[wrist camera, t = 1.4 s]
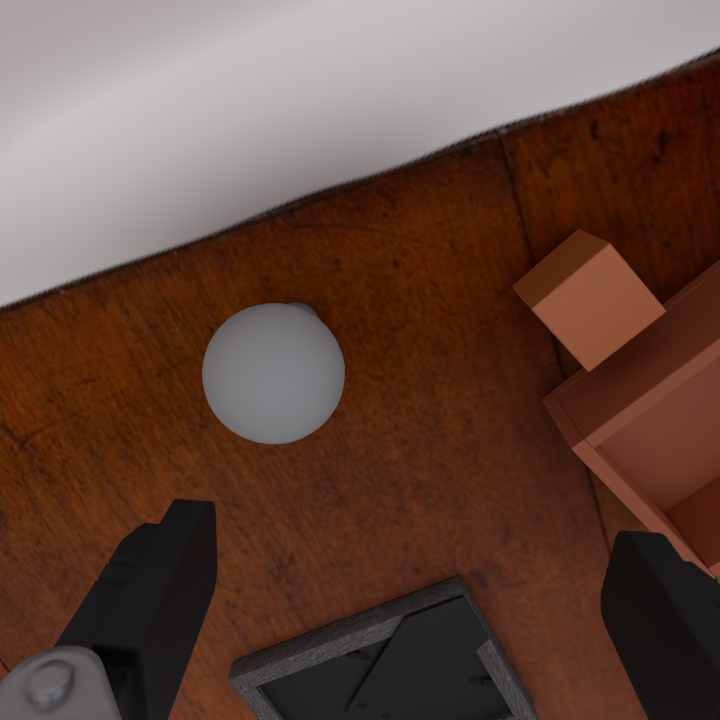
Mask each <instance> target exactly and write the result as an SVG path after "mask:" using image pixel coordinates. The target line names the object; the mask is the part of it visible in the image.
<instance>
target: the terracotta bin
mask: <svg viewBox="0 0 720 720" xmlns="http://www.w3.org/2000/svg"><path fill="white" fill-rule="evenodd" d="M662 306H663V307H664V309H665V310H666V312H665V313H664V314H663V315H661V316H660V317H659V318H658V319H656V320H655V321H654V322H653V323H651V324H650V325H649V326H647V327H646V328H645V329H644V330H642V331H641V332H640V333H638V334H637V335H636V336H635V337H633V338H632V339H631V340H629V341H628V342H627V343H626V344H624V345H623V346H622V347H620V348H619V349H618V350H617V351H615V352H614V353H613V354H611V355H610V356H609V357H608V358H606V359H605V360H604V361H602V362H601V363H600V364H599V365H597V366H596V367H595V368H594V369H592V370H591V371H590V372H588V371H587V370H586V369H585V368H584V367H582V368H581V369H579V370H578V371H577V372H575V373H574V374H573V375H572V376H570V377H569V378H568V379H567V380H565V381H564V382H563V383H561V384H560V385H559V386H558V387H556V388H555V389H554V390H553V391H551V392H550V393H549V394H547V395H546V396H545V397H544V398H542V399H541V400H542V402H543V404H544V405H545V407H546V409H547V410H548V412H549V414H550V415H551V417H552V418H553V420H554V422H555V423H556V425H557V427H558V428H559V430H560V432H561V433H562V435H563V437H564V438H565V440H566V441H567V443H568V445H569V446H570V448H571V449H572V451H573V452H574V453H575V454H576V455H577V456H578V457H579V458H580V459H581V460H582V461H583V462H584V463H585V464H586V465H587V466H588V467H589V468H590V469H591V470H592V471H593V472H594V473H595V474H596V475H597V476H598V477H599V478H600V480H601V481H602V482H603V483H604V484H605V485H606V486H607V487H608V488H609V489H610V490H611V491H612V492H613V493H614V494H615V495H616V496H617V497H618V498H619V499H620V500H621V501H622V502H623V503H624V504H625V505H626V506H627V507H628V509H629V510H630V511H631V512H632V513H633V514H634V515H635V516H636V517H637V518H638V519H639V520H640V521H641V522H642V523H643V524H644V525H645V526H646V527H647V528H648V529H649V530H650V531H651V532H656V533H662V534H664V535H665V536H666V537H667V538H668V540H669V541H670V542H671V544H672V545H673V546H674V548H675V549H676V551H677V552H678V553H679V555H680V556H681V558H682V559H683V560H684V561H691V562H693V563H694V564H696V565H697V566H698V567H700V568H701V569H702V570H703V571H705V572H706V573H707V574H708V575H710V576H711V577H712V578H714V579H715V577H718V576H719V575H720V259H719V260H718V261H717V262H716V263H714V264H713V265H712V266H710V267H709V268H708V269H707V270H705V271H704V272H703V273H702V274H700V275H699V276H698V277H696V278H695V279H694V280H693V281H691V282H690V283H689V284H688V285H686V286H685V287H684V288H682V289H681V290H680V291H679V292H677V293H676V294H675V295H674V296H672V297H671V298H670V299H668V300H667V301H666V302H665V303H663V304H662Z"/></svg>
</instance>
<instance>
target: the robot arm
mask: <svg viewBox="0 0 720 720" xmlns="http://www.w3.org/2000/svg"><path fill="white" fill-rule="evenodd" d="M216 578H217V537H216V512H215V505H214V502H213V501H199V500H184V499H175V500H174V501H173V502H172V503H171V505H170V507H169V509H168V510H167V512H166V514H165V516H164V517H163V519H162V521H161V523H160V524H150V523H144V524H142V525H141V526H140V527H138V528H137V529H136V530H134V531H133V532H132V533H131V534H129V535H128V536H127V537H125V538H124V539H123V540H122V541H121V543H120V544H119V546H118V547H117V549H116V551H115V552H114V554H113V555H112V557H111V558H110V561H109V564H107V565H106V566H105V568H104V569H103V571H102V572H101V574H100V575H99V579H98V581H96V582H95V583H94V585H93V586H92V588H91V590H90V591H89V593H88V594H87V596H86V597H85V599H84V600H83V602H82V604H81V605H80V607H79V608H78V610H77V611H76V613H75V614H74V616H73V618H72V619H71V621H70V622H69V624H68V625H67V627H66V629H65V630H64V632H63V633H62V635H61V636H60V638H59V639H58V641H57V643H56V644H55V646H54V647H53V648H51V649H48V650H45V651H42V652H40V653H38V654H35V655H33V656H32V657H30V658H28V659H26V660H25V661H23V662H22V663H21V664H19V665H18V666H17V667H15V668H14V669H13V670H12V671H11V672H10V673H9V674H8V675H7V676H6V678H5V679H4V680H3V681H2V683H1V684H0V720H168V717H169V714H170V712H171V709H172V706H173V703H174V701H175V698H176V695H177V692H178V690H179V687H180V684H181V681H182V679H183V676H184V673H185V671H186V668H187V665H188V662H189V660H190V657H191V654H192V651H193V649H194V646H195V643H196V640H197V638H198V635H199V632H200V629H201V627H202V624H203V621H204V618H205V616H206V613H207V610H208V608H209V605H210V602H211V599H212V596H213V593H214V589H215V584H216ZM601 613H602V618H603V621H604V624H605V627H606V629H607V631H608V633H609V636H610V638H611V640H612V642H613V644H614V646H615V648H616V651H617V653H618V655H619V657H620V659H621V661H622V664H623V666H624V668H625V670H626V672H627V674H628V677H629V679H630V681H631V683H632V685H633V687H634V690H635V692H636V694H637V696H638V698H639V700H640V702H641V705H642V707H643V709H644V711H645V713H646V715H647V718H648V720H720V584H719V583H718V582H717V581H716V580H715V579H714V578H712V577H711V576H710V575H708V574H707V573H706V572H705V571H703V570H702V569H701V568H700V567H698V566H697V565H696V564H694V563H693V562H691V561H684V560H683V559H682V558H681V556H680V555H679V553H678V552H677V551H676V549H675V548H674V546H673V545H672V544H671V542H670V541H669V540H668V538H667V537H666V536H665V535H664V534H662V533H656V532H642V531H627V530H622V531H620V532H619V533H618V534H617V536H616V538H615V541H614V545H613V549H612V553H611V556H610V560H609V564H608V568H607V572H606V575H605V579H604V583H603V587H602V591H601Z"/></svg>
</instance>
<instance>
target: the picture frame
mask: <svg viewBox="0 0 720 720" xmlns="http://www.w3.org/2000/svg"><path fill="white" fill-rule="evenodd" d="M228 681H229V683H230V684H231V685H232V686H233V688H234V689H235V690H236V691H237V693H238V694H239V695H240V696H241V698H242V699H243V700H244V701H245V703H246V704H247V705H248V706H249V707H250V709H251V710H252V711H253V712H254V714H255V715H256V716H257V717H258V719H259V720H538V718H537V714H536V710H535V707H534V704H533V702H532V700H531V698H530V697H529V695H528V693H527V691H526V690H525V688H524V686H523V684H522V683H521V681H520V679H519V677H518V676H517V674H516V672H515V671H514V669H513V667H512V665H511V664H510V662H509V660H508V658H507V657H506V655H505V653H504V651H503V650H502V648H501V646H500V644H499V643H498V641H497V639H496V637H495V636H494V634H493V632H492V630H491V629H490V627H489V625H488V623H487V622H486V620H485V618H484V616H483V615H482V613H481V611H480V609H479V608H478V606H477V604H476V602H475V601H474V599H473V597H472V595H471V594H470V592H469V590H468V588H467V587H466V585H465V583H464V581H463V580H462V578H461V576H460V575H458V576H455V577H453V578H450V579H447V580H445V581H442V582H440V583H437V584H434V585H432V586H429V587H427V588H424V589H421V590H419V591H416V592H413V593H411V594H408V595H406V596H403V597H400V598H398V599H395V600H393V601H390V602H387V603H385V604H382V605H379V606H377V607H374V608H372V609H369V610H366V611H364V612H361V613H359V614H356V615H353V616H351V617H348V618H345V619H343V620H340V621H338V622H335V623H332V624H330V625H327V626H325V627H322V628H319V629H317V630H314V631H311V632H309V633H306V634H304V635H301V636H298V637H296V638H293V639H290V640H288V641H285V642H283V643H280V644H277V645H275V646H272V647H270V648H267V649H264V650H262V651H259V652H256V653H254V654H251V655H249V656H246V657H243V658H241V659H238V660H236V661H233V663H232V667H231V670H230V674H229V677H228Z"/></svg>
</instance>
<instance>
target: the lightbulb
mask: <svg viewBox="0 0 720 720" xmlns="http://www.w3.org/2000/svg"><path fill="white" fill-rule="evenodd" d="M202 377H203V386H204V391H205V394H206V398H207V401H208V403H209V405H210V407H211V409H212V410H213V412H214V414H215V415H216V416H217V417H218V419H219V420H220V421H221V422H222V423H223V424H224V425H225V426H226V427H228V428H229V429H230V430H231V431H233V432H235V433H236V434H238V435H240V436H241V437H243V438H246V439H249V440H251V441H254V442H259V443H265V444H283V443H289V442H293V441H296V440H299V439H301V438H304V437H305V436H307V435H309V434H310V433H312V432H314V431H315V430H317V429H318V428H319V427H320V426H321V425H322V424H324V423H325V422H326V421H327V419H328V418H329V417H330V415H331V414H332V412H333V411H334V410H335V408H336V407H337V405H338V402H339V400H340V398H341V396H342V391H343V386H344V380H345V365H344V360H343V356H342V352H341V350H340V348H339V345H338V343H337V341H336V339H335V337H334V336H333V334H332V333H331V332H330V330H329V329H328V327H327V326H326V325H325V324H324V323H323V322H321V321H320V320H319V319H318V316H317V314H316V313H315V311H314V310H313V309H312V308H311V307H309V306H308V305H306V304H303V303H299V302H293V303H289V304H282V303H267V304H262V305H257V306H252V307H249V308H247V309H245V310H242V311H240V312H238V313H236V314H235V315H233V316H232V317H230V318H229V319H228V320H227V321H226V322H225V323H224V324H223V325H222V326H221V327H220V328H219V329H218V330H217V331H216V333H215V334H214V336H213V337H212V339H211V341H210V342H209V344H208V347H207V350H206V353H205V356H204V361H203V370H202Z"/></svg>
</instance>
